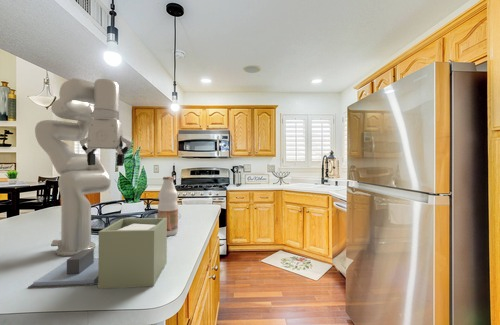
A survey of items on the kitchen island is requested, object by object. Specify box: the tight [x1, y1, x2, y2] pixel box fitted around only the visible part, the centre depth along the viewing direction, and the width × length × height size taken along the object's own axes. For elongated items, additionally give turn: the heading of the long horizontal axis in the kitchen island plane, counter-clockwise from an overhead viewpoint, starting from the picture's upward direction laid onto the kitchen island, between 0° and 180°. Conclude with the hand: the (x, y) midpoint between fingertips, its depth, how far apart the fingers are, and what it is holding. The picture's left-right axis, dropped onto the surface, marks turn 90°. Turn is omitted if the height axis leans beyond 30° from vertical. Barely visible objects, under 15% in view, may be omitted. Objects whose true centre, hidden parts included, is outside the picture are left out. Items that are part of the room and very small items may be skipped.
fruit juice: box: [157, 176, 179, 237], centre depth 116 cm, size 9×9×28 cm
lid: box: [32, 248, 99, 286], centre depth 75 cm, size 16×16×6 cm
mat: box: [27, 280, 98, 289], centre depth 75 cm, size 18×17×1 cm
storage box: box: [97, 217, 168, 289], centre depth 74 cm, size 15×15×16 cm
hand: (105, 165), depth 82 cm, fingers open, 9 cm apart
